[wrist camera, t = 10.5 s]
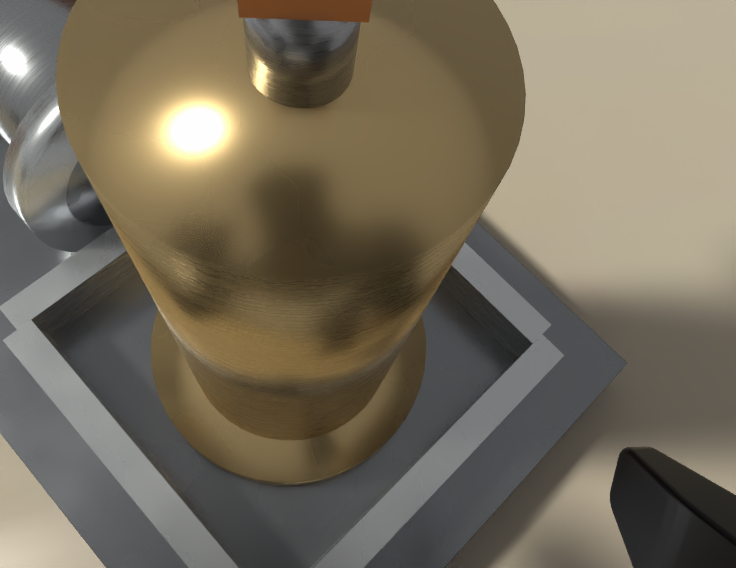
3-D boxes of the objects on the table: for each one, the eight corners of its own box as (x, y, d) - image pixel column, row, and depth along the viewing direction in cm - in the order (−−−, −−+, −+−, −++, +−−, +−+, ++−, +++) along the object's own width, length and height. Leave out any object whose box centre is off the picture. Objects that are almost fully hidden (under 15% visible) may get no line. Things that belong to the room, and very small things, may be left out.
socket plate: (604, 374, 21) (742, 301, 14) (267, 749, 16) (250, 883, 10) (200, -11, 25) (167, -204, 18) (-165, 206, 20) (-376, 51, 14)
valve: (429, 478, 18) (823, 296, 5) (151, 493, 17) (-310, 317, 4) (404, 210, 21) (606, -358, 8) (167, 209, 20) (-60, -436, 7)
